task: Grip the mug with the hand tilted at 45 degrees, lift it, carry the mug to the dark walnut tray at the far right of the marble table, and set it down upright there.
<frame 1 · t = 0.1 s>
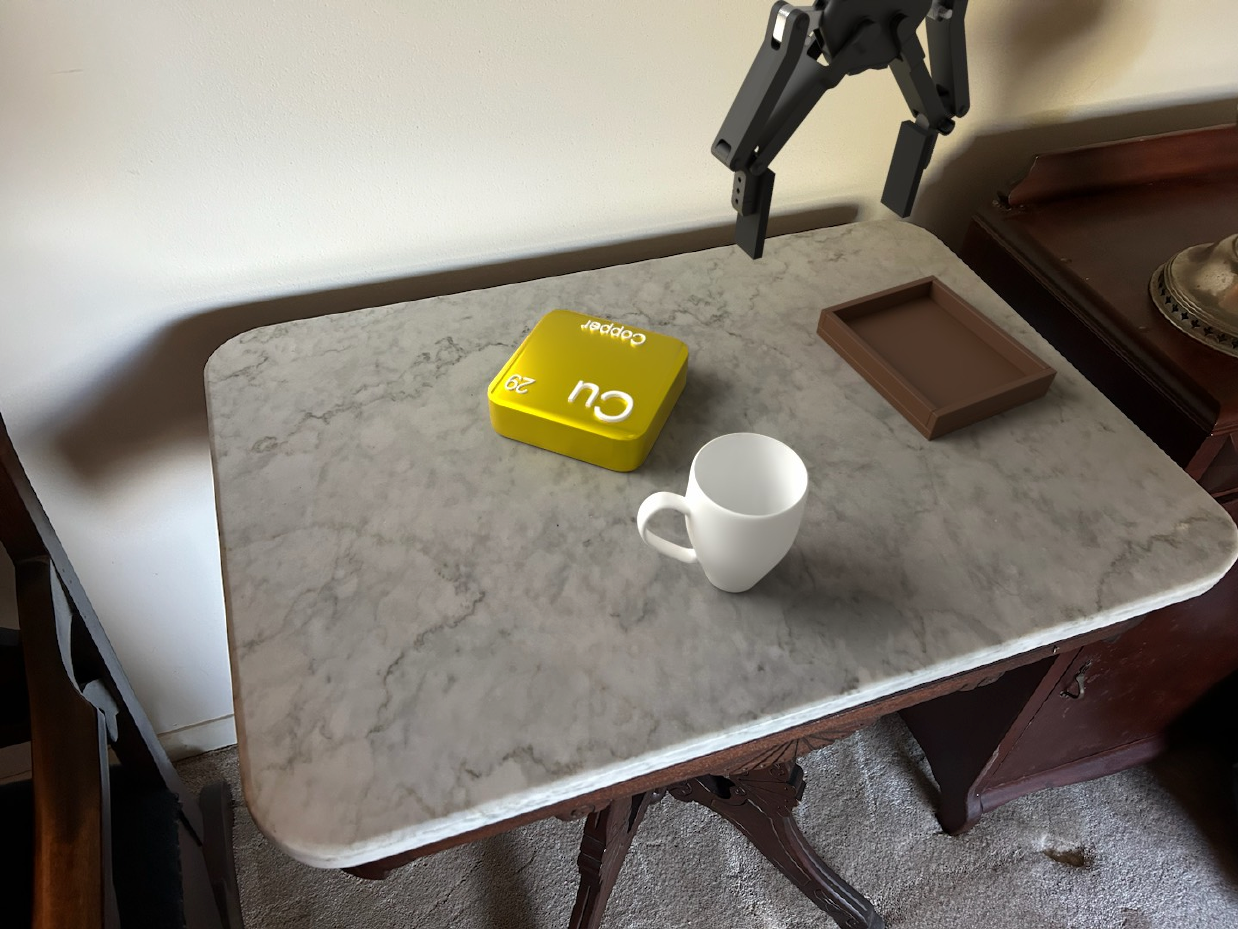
hand: (823, 229, 64), 20 cm above the table, tool pointing down, fingers open, 13 cm apart
tray: (926, 362, 85), on the table
element tile: (591, 404, 80), on the table
mug: (709, 575, 67), on the table
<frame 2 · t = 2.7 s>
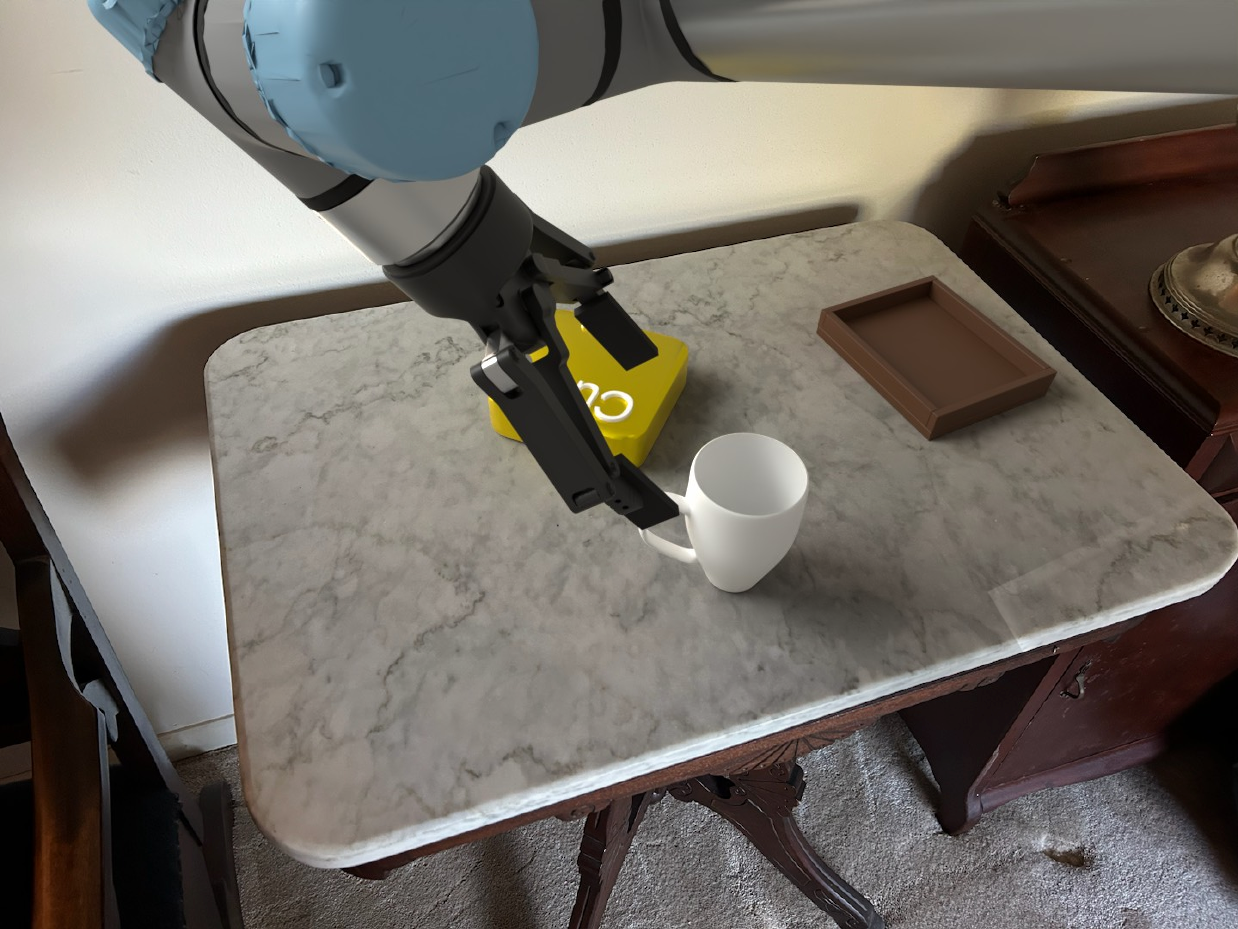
hand: (650, 433, 56), 15 cm above the table, tool tilted 35°, fingers open, 13 cm apart
nothing on the table moved.
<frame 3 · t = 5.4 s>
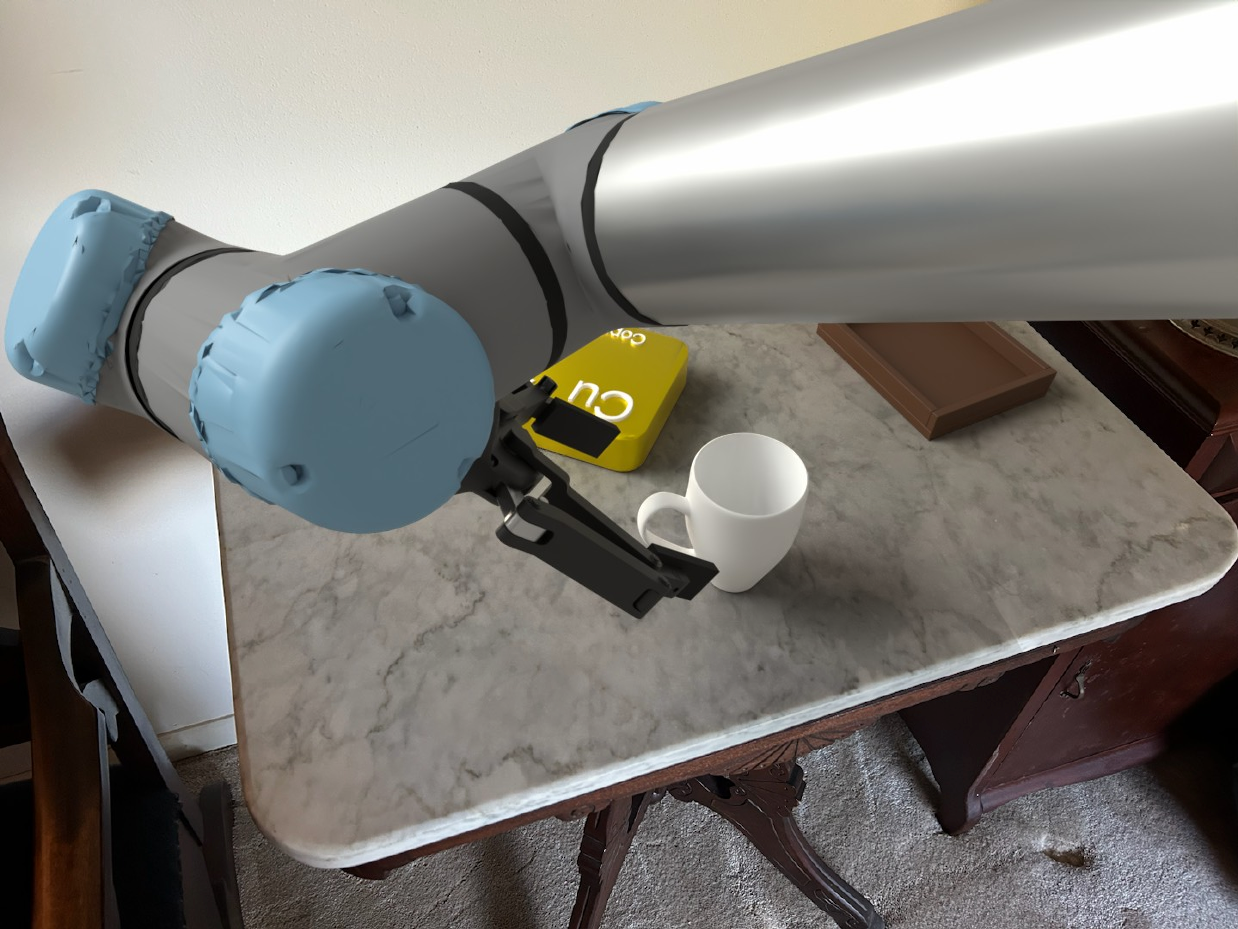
hand: (651, 507, 57), 11 cm above the table, tool tilted 45°, fingers open, 13 cm apart
nothing on the table moved.
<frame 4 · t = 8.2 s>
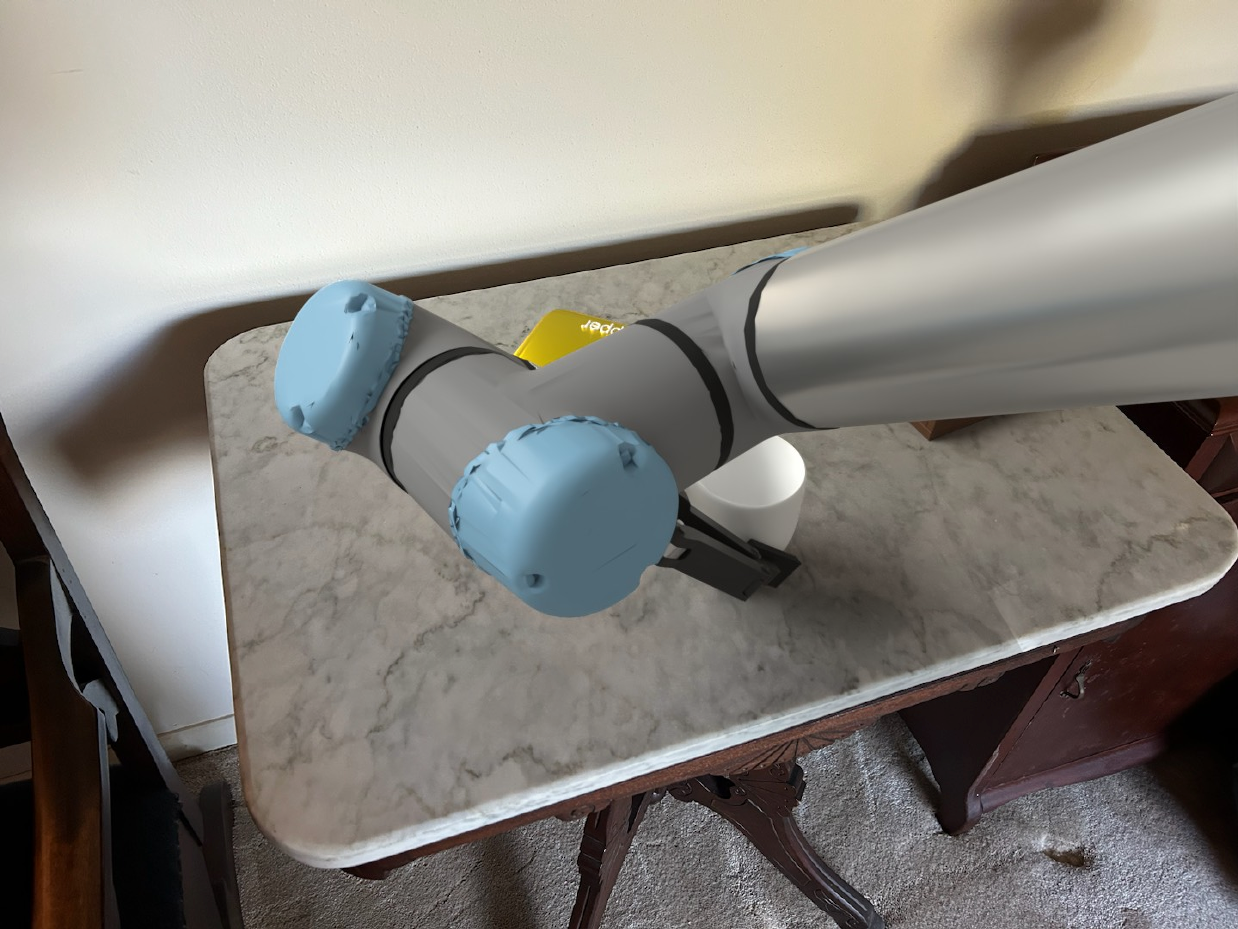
hand: (752, 529, 65), 4 cm above the table, tool tilted 45°, fingers closed on mug, 8 cm apart
mug: (709, 574, 67), on the table, touching gripper
everything else where it was.
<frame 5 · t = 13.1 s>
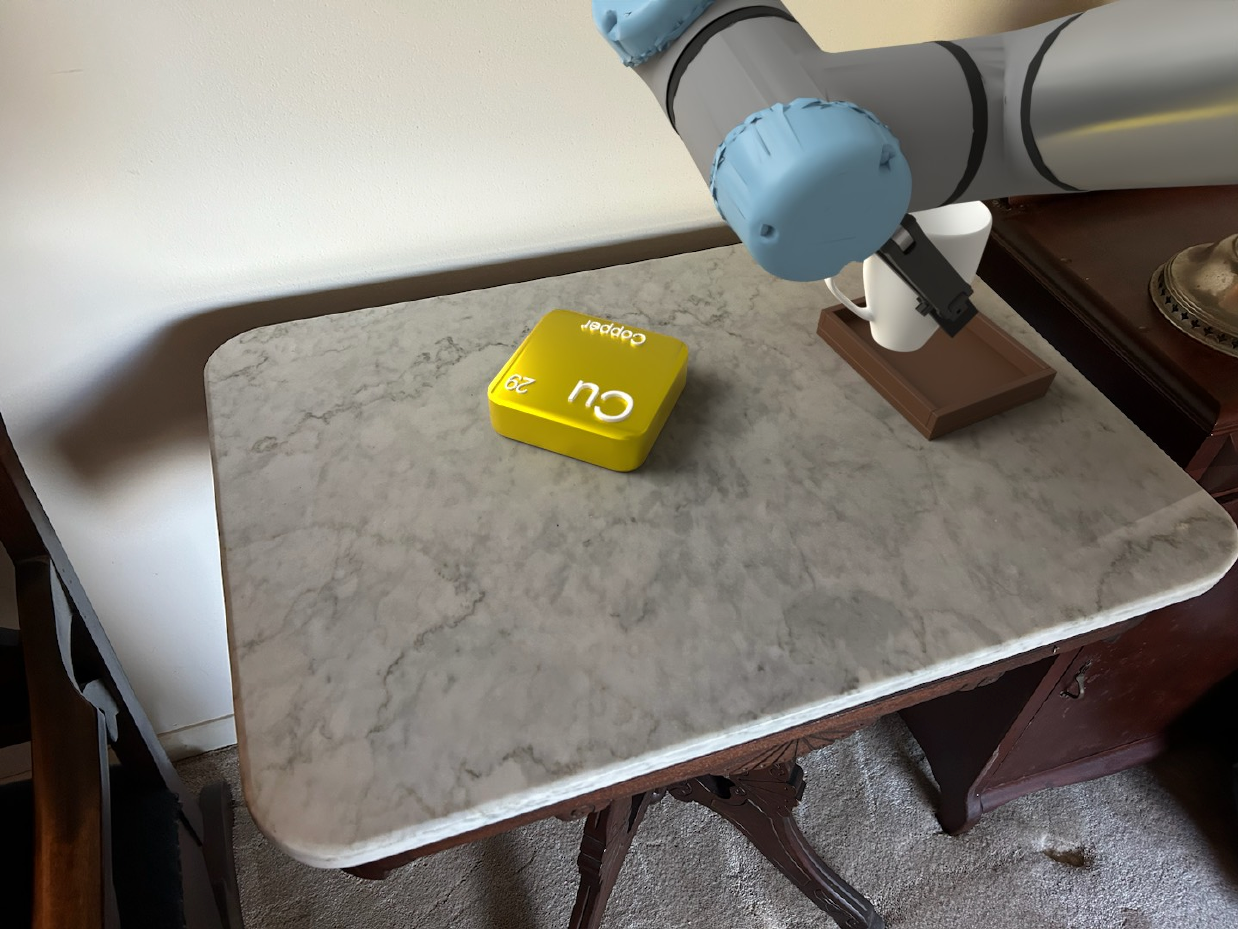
hand: (922, 291, 68), 15 cm above the table, tool tilted 45°, fingers closed on mug, 8 cm apart
mug: (876, 341, 70), point 11 cm above the table, touching gripper
everything else where it was.
when the fingers open (5 cm above the table, at t = 18.0 s): mug stays where it is, resting on tray.
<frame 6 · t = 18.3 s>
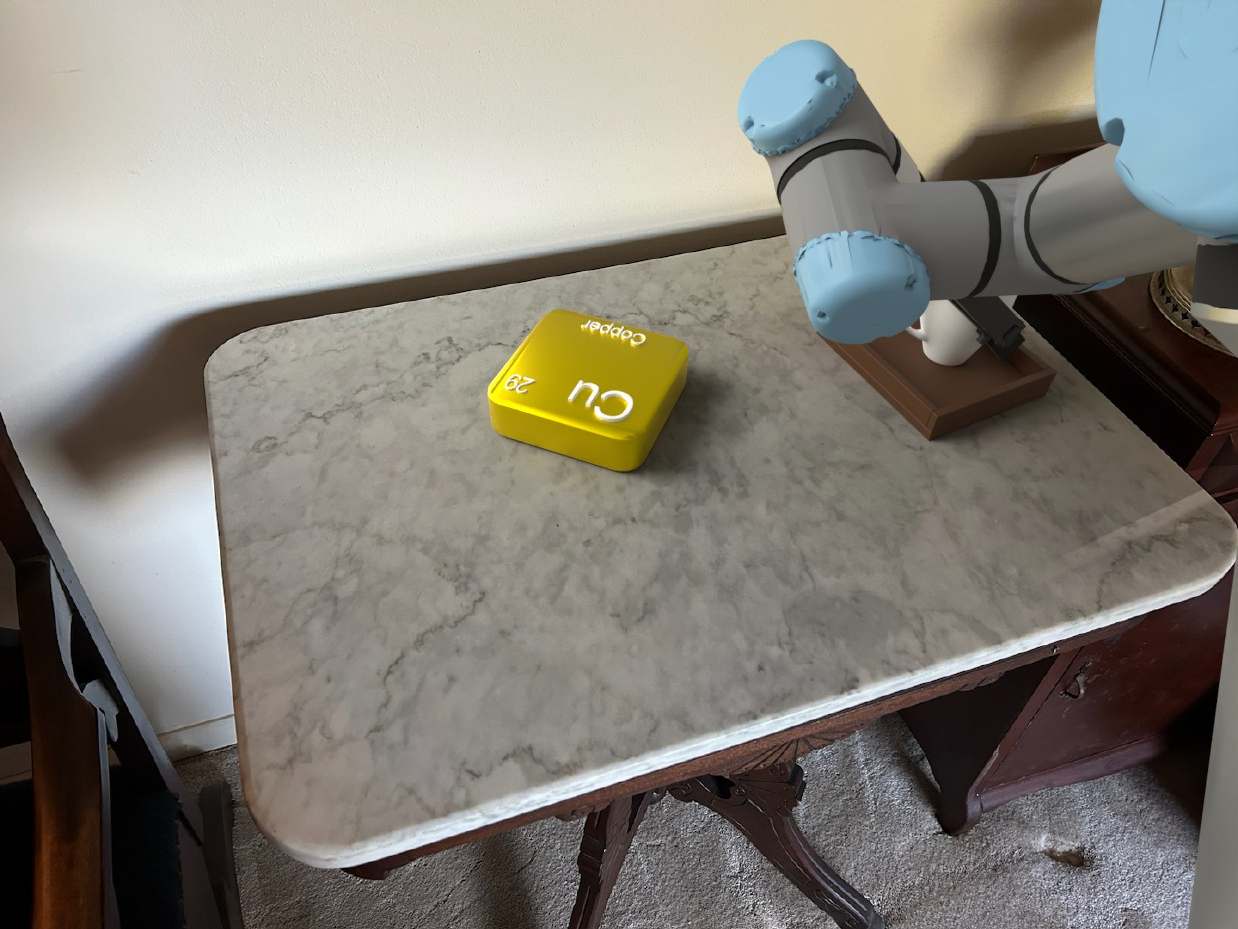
hand: (963, 311, 82), 6 cm above the table, tool tilted 45°, fingers open, 12 cm apart
mug: (927, 356, 84), point 1 cm above the table, touching tray
everything else where it was.
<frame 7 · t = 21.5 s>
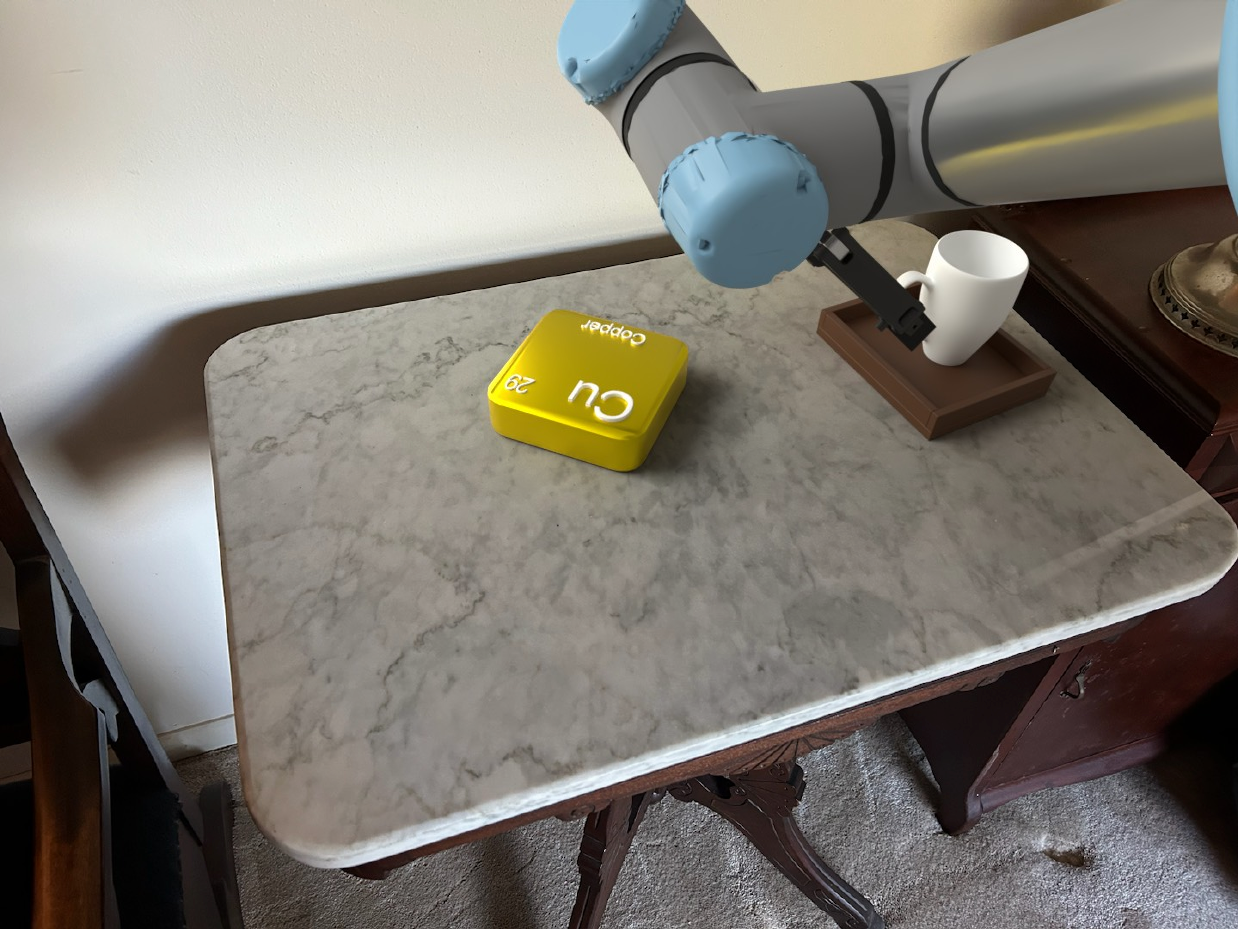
hand: (869, 293, 73), 12 cm above the table, tool tilted 45°, fingers open, 13 cm apart
nothing on the table moved.
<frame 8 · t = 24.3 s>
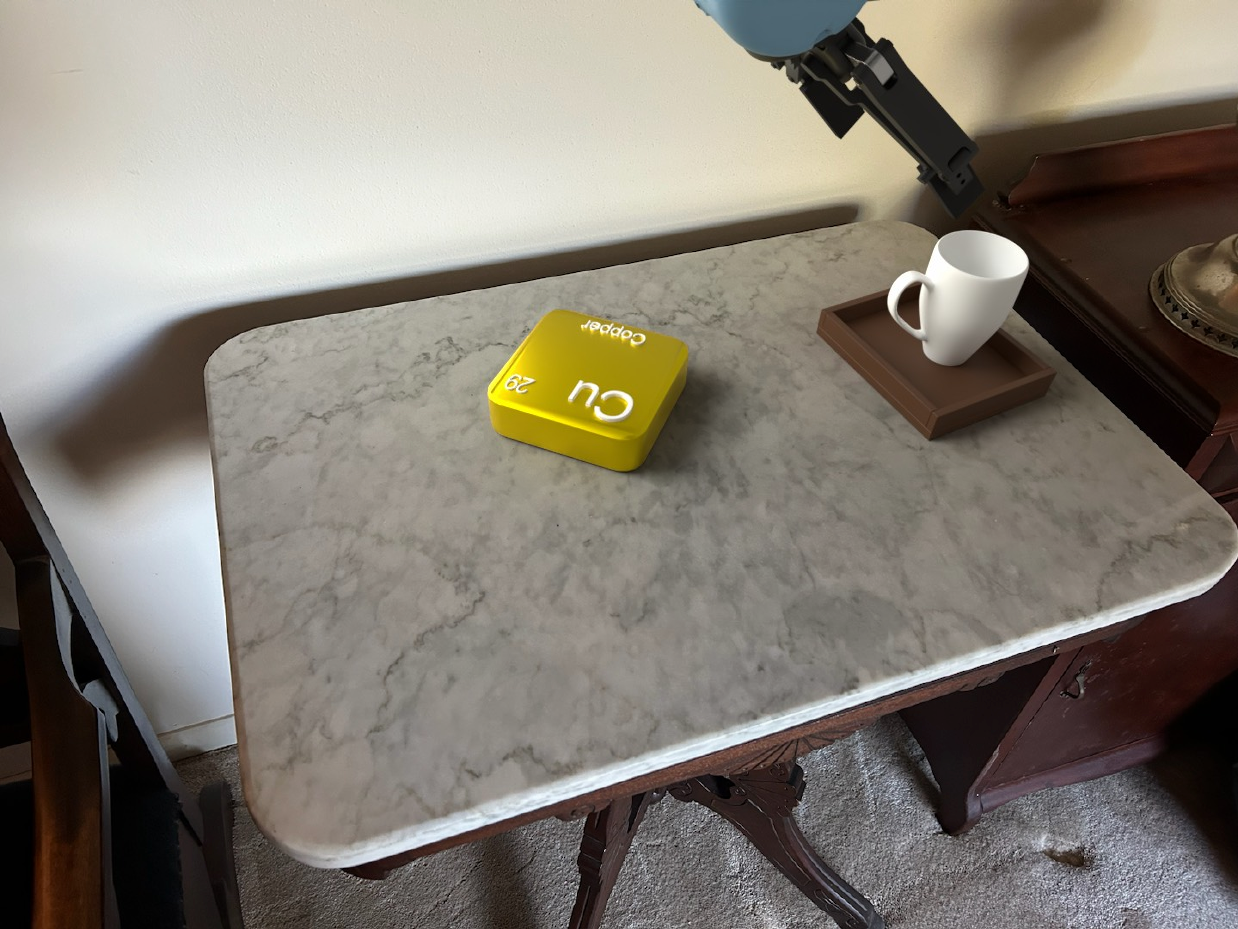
hand: (905, 161, 64), 24 cm above the table, tool tilted 45°, fingers open, 13 cm apart
nothing on the table moved.
at the end: mug inside the target area in the tray (0.1 cm from its centre), point 0.8 cm above the tray's base; mug tilted 0°; the gripper is holding nothing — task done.
